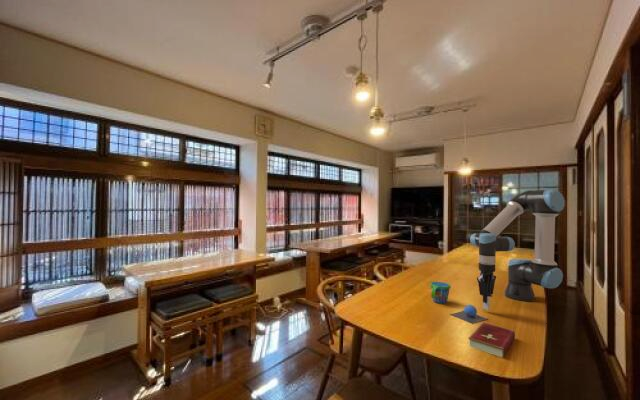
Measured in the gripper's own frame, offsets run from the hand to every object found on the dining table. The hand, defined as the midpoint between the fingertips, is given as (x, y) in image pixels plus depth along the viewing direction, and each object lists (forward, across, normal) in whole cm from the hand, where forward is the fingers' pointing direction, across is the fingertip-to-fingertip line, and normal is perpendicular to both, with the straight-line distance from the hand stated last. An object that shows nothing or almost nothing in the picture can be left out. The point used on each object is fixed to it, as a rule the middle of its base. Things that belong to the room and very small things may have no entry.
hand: (486, 308), depth 148 cm
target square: (+2, +14, 0) cm, 14 cm away
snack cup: (+2, +9, -21) cm, 23 cm away
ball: (-1, +13, 0) cm, 13 cm away
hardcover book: (+3, +29, +21) cm, 36 cm away
